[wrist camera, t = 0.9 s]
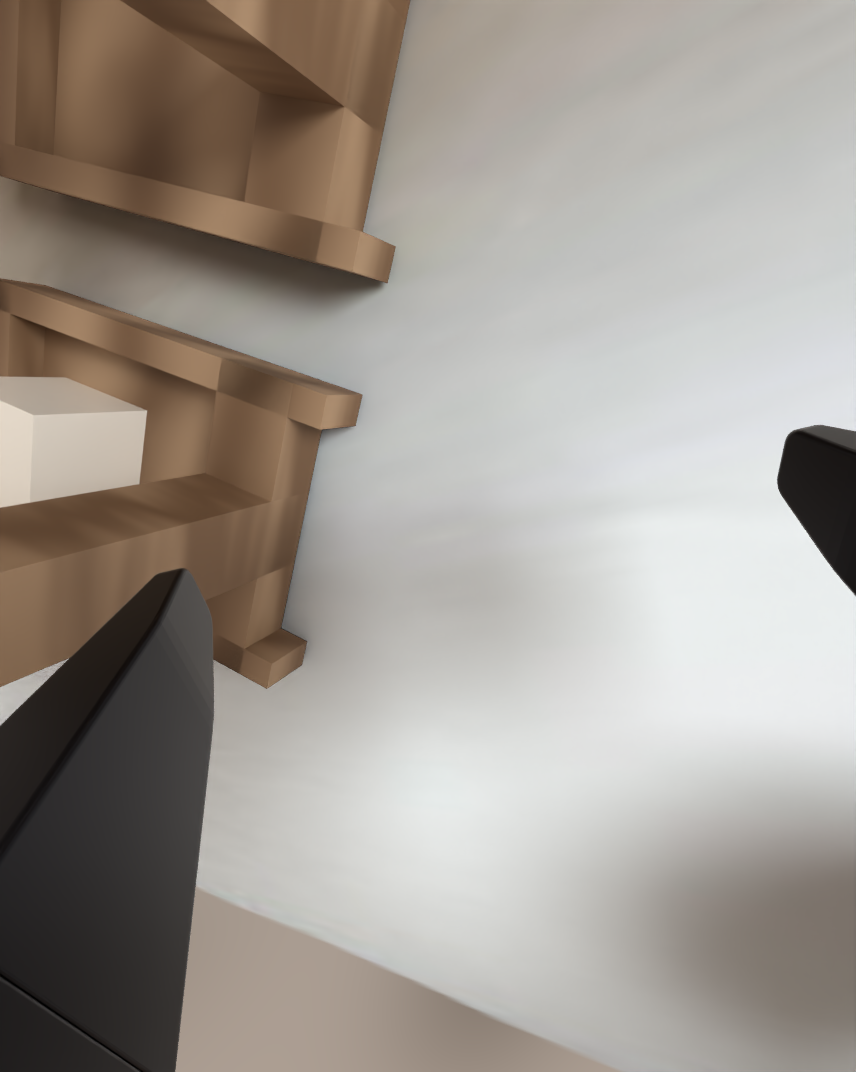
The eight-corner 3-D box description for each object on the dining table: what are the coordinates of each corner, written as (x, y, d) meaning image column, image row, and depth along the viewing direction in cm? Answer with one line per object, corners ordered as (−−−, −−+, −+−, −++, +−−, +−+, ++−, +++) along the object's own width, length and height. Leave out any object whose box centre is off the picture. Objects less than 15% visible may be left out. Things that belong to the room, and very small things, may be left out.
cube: (147, 410, 26) (33, 415, 22) (135, 517, 28) (27, 542, 24) (65, 377, 28) (-56, 375, 24) (59, 480, 30) (-55, 497, 25)
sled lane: (362, 394, 23) (-59, 403, 10) (301, 665, 27) (-56, 907, 14) (45, 285, 28) (-486, 203, 16) (34, 524, 32) (-397, 611, 20)
